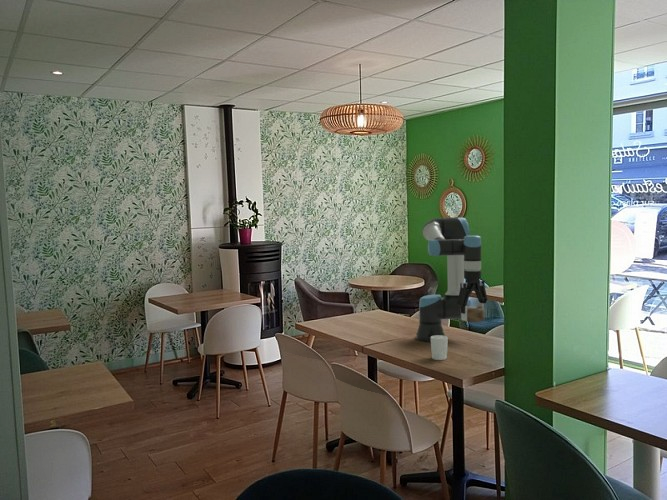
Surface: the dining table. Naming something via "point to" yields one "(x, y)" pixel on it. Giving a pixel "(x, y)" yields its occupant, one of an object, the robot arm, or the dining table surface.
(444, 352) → the white cup
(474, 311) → the walnut lid
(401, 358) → the dining table surface
